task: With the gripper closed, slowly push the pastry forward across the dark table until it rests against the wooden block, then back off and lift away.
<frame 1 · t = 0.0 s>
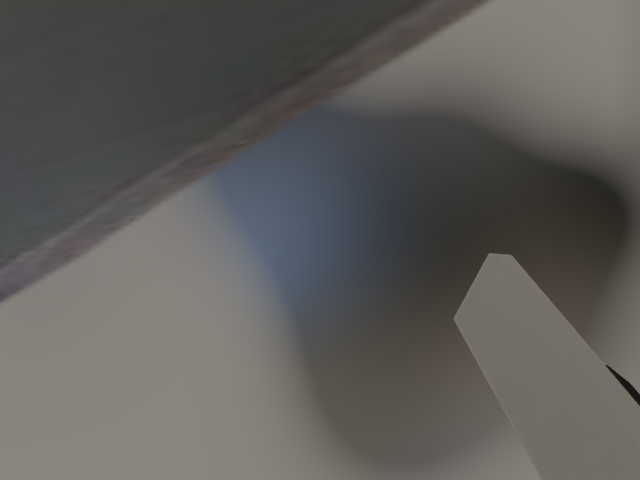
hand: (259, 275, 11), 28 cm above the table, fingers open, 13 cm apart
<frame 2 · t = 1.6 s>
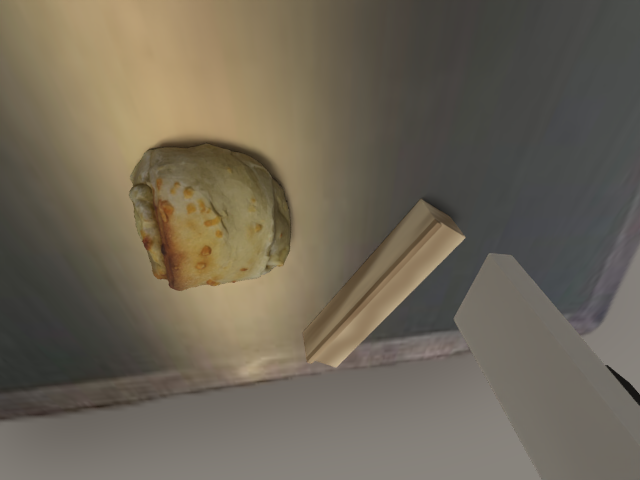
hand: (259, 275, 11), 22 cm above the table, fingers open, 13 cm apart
pastry: (214, 206, 35), on the table
wooden block: (370, 279, 42), on the table
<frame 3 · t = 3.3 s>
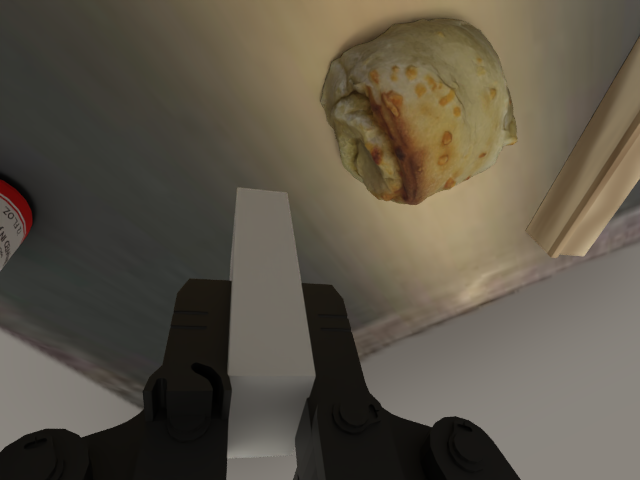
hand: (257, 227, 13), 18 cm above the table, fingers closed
pastry: (409, 107, 30), on the table
wooden block: (603, 134, 34), on the table
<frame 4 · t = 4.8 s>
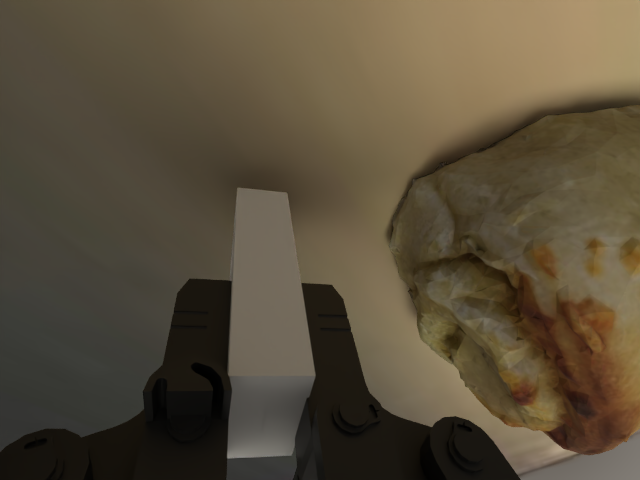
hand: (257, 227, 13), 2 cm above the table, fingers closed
pastry: (534, 236, 17), on the table
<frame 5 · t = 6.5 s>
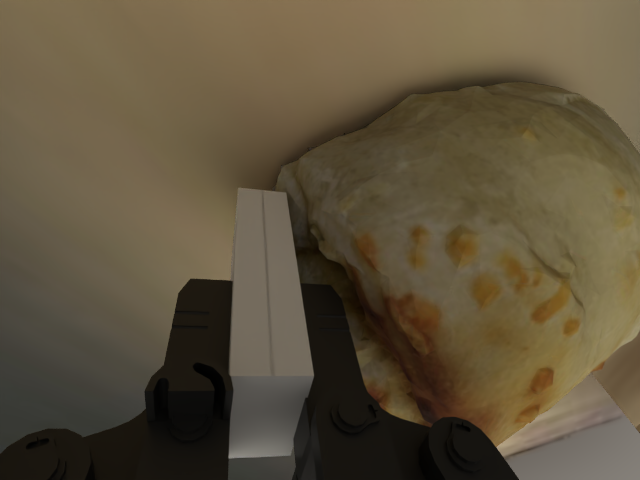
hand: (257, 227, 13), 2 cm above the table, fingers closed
pastry: (436, 229, 16), on the table, touching gripper
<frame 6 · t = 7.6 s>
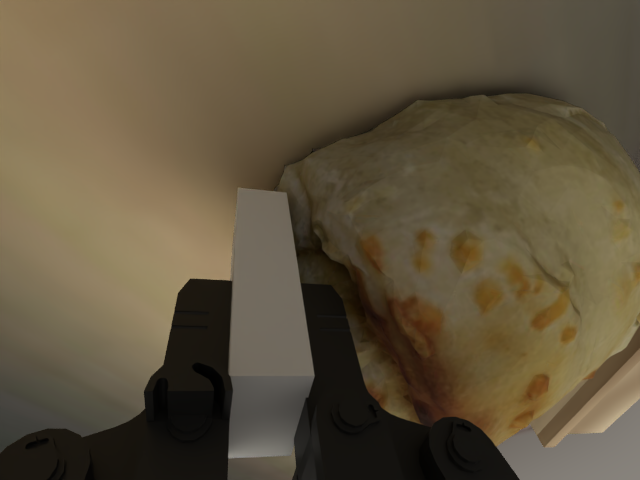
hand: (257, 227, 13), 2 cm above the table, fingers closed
pastry: (434, 235, 16), on the table
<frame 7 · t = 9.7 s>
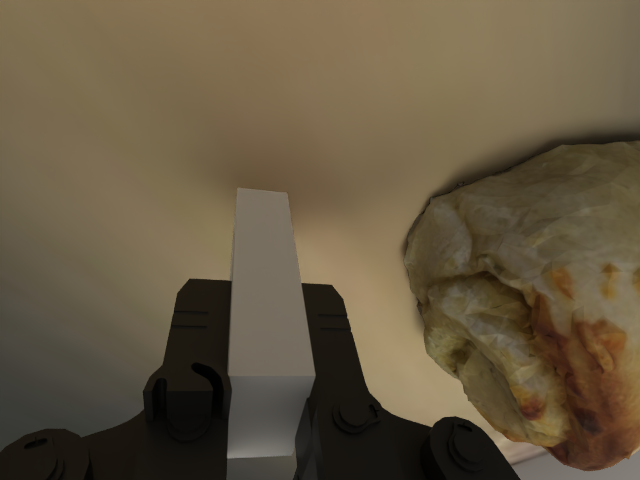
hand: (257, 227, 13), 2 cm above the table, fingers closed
pastry: (539, 258, 18), on the table
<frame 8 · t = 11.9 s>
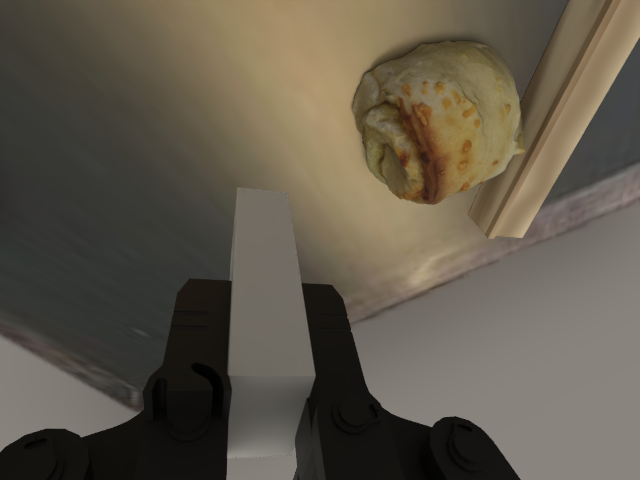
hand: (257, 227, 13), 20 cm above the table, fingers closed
pastry: (429, 117, 34), on the table
wooden block: (535, 117, 35), on the table
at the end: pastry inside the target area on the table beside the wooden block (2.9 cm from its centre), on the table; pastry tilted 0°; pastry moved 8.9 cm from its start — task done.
